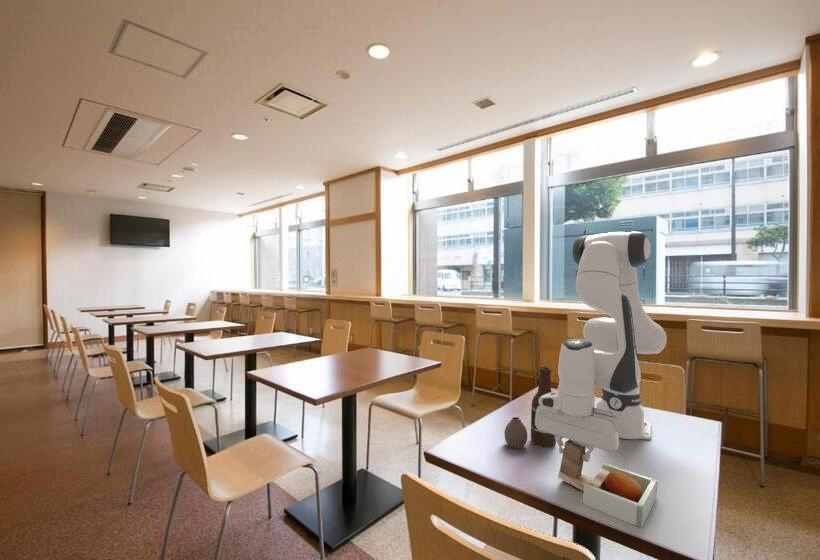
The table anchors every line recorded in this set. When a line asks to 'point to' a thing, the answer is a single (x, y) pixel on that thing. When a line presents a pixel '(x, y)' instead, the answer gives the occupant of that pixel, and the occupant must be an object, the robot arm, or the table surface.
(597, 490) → the tray
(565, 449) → the angled wooden block structure
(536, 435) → the beer bottle
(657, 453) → the table surface
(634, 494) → the fruit
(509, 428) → the vase
